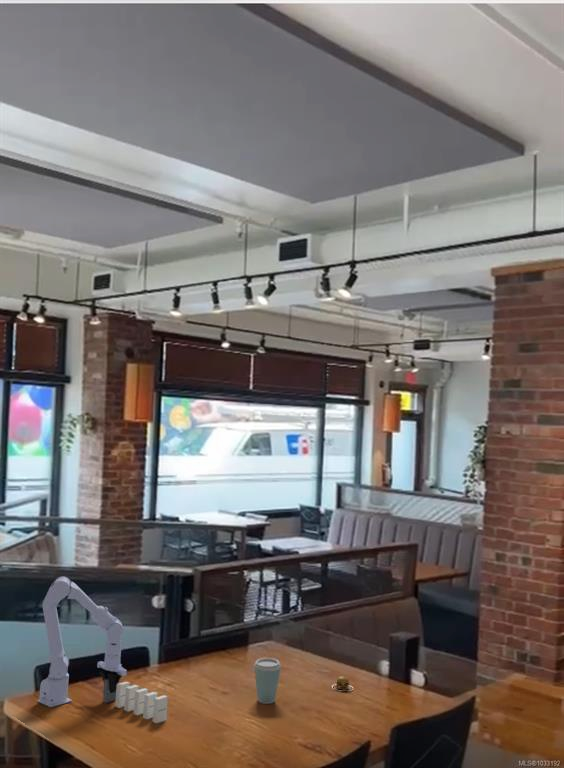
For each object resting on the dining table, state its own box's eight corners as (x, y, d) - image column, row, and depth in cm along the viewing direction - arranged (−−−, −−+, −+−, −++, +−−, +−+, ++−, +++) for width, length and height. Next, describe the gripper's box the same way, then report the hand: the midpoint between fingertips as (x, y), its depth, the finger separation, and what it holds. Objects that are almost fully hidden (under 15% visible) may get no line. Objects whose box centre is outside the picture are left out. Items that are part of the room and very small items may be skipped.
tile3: (127, 711, 272) (129, 688, 273) (124, 710, 273) (125, 687, 274) (137, 708, 276) (139, 686, 276) (133, 707, 277) (135, 684, 277)
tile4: (137, 715, 269) (138, 692, 270) (133, 714, 270) (135, 690, 271) (146, 712, 272) (148, 689, 273) (143, 710, 274) (144, 688, 274)
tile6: (156, 723, 263) (158, 699, 263) (152, 721, 264) (154, 698, 265) (166, 720, 266) (167, 696, 267) (162, 718, 268) (163, 695, 268)
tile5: (146, 719, 266) (148, 695, 266) (142, 717, 267) (144, 694, 268) (156, 716, 269) (158, 693, 270) (152, 714, 271) (154, 691, 271)
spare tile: (106, 702, 280) (107, 680, 280) (102, 701, 281) (104, 679, 281) (116, 699, 283) (117, 677, 284) (112, 698, 284) (113, 676, 285)
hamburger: (358, 687, 317) (358, 673, 317) (355, 696, 305) (356, 682, 306) (329, 684, 319) (330, 670, 320) (326, 693, 307) (326, 679, 308)
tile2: (118, 708, 275) (120, 685, 276) (115, 706, 276) (116, 683, 277) (128, 705, 279) (130, 682, 279) (124, 703, 280) (126, 681, 281)
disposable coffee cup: (276, 707, 285) (278, 666, 287) (248, 703, 288) (250, 663, 289) (281, 698, 296) (284, 658, 297) (254, 694, 298) (257, 655, 299)
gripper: (134, 656, 282) (131, 693, 281) (108, 647, 291) (106, 684, 290) (119, 659, 276) (116, 698, 275) (93, 651, 285) (91, 688, 284)
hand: (110, 691), depth 282 cm, fingers closed on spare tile, 2 cm apart
